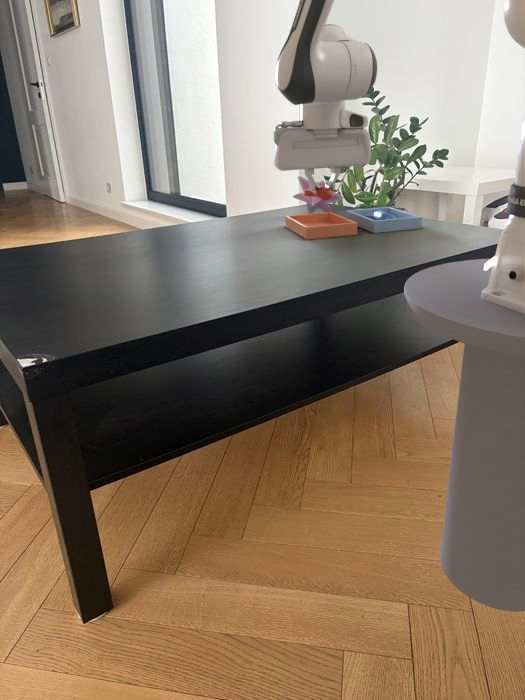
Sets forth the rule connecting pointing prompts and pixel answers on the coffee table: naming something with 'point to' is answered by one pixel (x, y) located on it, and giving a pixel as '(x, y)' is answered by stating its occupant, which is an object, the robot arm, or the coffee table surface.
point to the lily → (313, 201)
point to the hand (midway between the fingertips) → (322, 190)
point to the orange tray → (320, 225)
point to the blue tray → (400, 223)
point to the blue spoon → (380, 216)
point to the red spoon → (319, 193)
